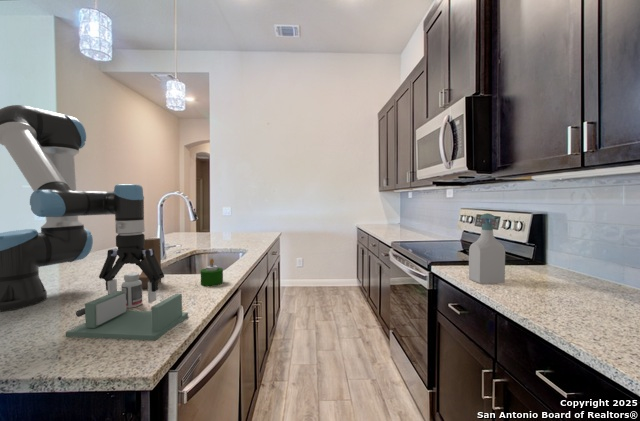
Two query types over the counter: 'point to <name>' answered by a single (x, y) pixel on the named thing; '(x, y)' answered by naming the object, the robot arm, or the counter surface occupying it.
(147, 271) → the robot arm
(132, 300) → the pill bottle
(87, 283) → the counter surface
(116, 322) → the vise
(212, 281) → the candle
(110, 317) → the sliding jaw
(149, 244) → the wooden block
